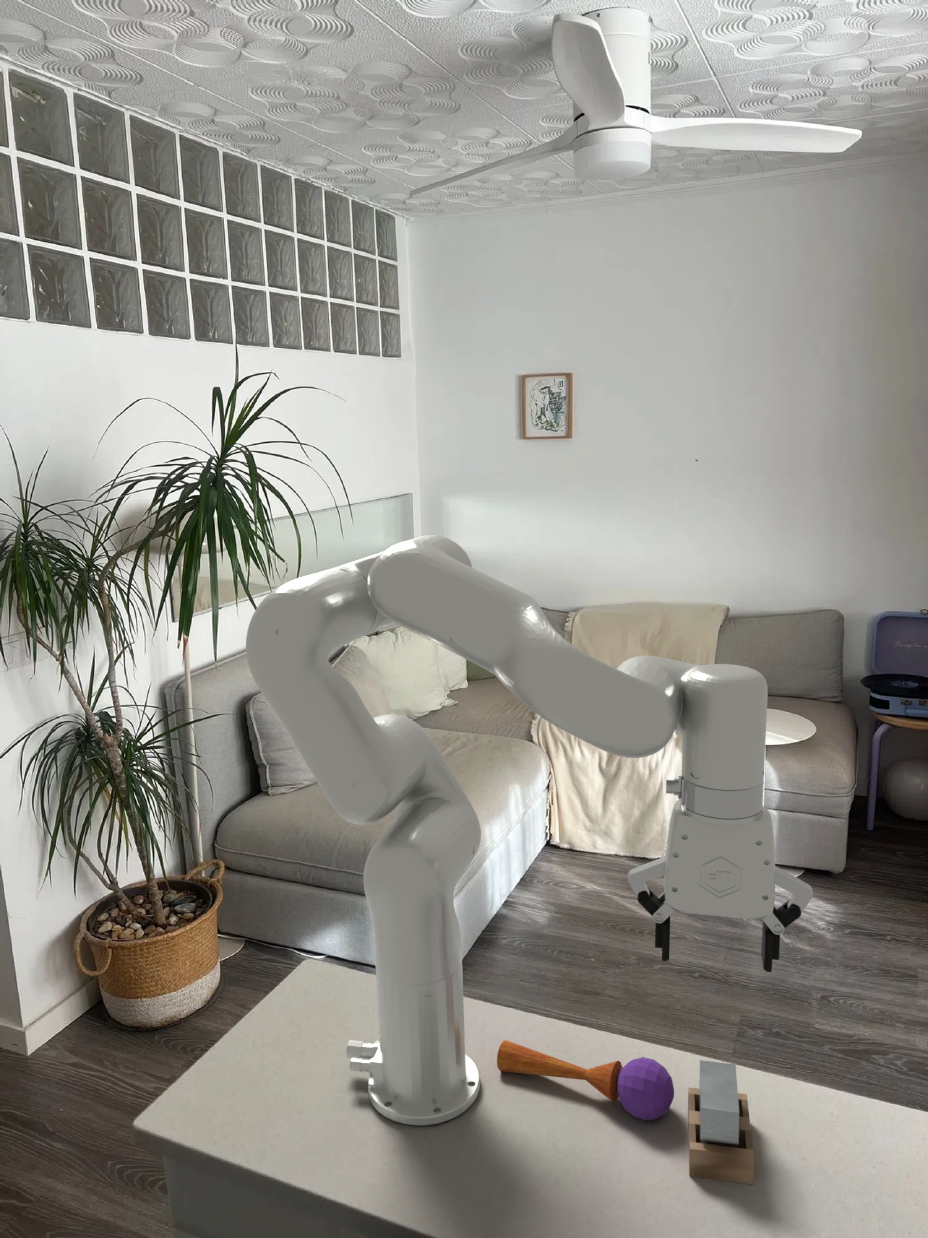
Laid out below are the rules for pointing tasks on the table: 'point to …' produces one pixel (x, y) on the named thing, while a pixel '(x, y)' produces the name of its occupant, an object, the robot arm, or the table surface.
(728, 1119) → the steel brick
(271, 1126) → the table surface
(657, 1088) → the kendama
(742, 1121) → the wooden frame
